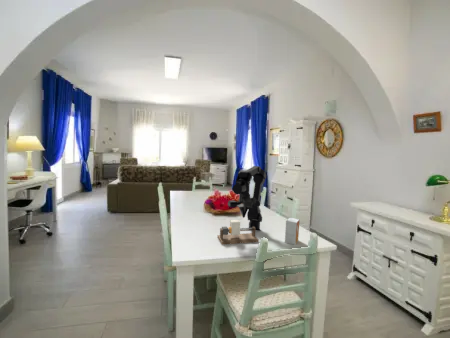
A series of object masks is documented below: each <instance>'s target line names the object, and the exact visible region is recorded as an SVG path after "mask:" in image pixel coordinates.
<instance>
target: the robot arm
mask: <svg viewBox="0 0 450 338" xmlns="http://www.w3.org/2000/svg"><path fill="white" fill-rule="evenodd" d="M235 179H236V180H235V184H234V185H233V187H232V191H233V193H234V194H236V195H239V198H238V201H236V200H232V199H231V200H228V202H227V206H228V207H230V208H238V209H239V210H240V213H241V217H242V218H245V217H247V221H249V222H248V228H252V227H255V228H256V232H259V231H262V229H261V223H262V221H263V216H262V211H261V208H260V207H261V201H260V200H261V195H262V194H261V193H262V186H263V185H264V184H265V182H266V179H267V173H266V171H265V170H264V169H263V168H262V167H261V166H260V165H259V166H258V165H254V166H251V167H249V168H248V169H245V170H244V169H243V170H239V172H238V174H237V176H236V178H235ZM252 179H253V183H254V188H253V194H252V195H253V196H252V197H251V194H250V184H251V180H252Z"/></svg>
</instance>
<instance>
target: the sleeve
mask: <svg viewBox="0 0 450 338" xmlns="http://www.w3.org/2000/svg"><path fill="white" fill-rule="evenodd" d="M229 227H231V230H232V232H231V235H240V234H241V231H240V228H241V221H240V220H239V219H231V220H230V221H229Z"/></svg>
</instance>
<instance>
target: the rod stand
mask: <svg viewBox="0 0 450 338" xmlns="http://www.w3.org/2000/svg"><path fill="white" fill-rule="evenodd" d="M248 231H251V232H248ZM231 232H232V230H231V227H230V226H221V228H219V234H217V237H216V238H217V240H218V241H219V242H220V244H221V245H222V246H223V245H224V246H225V245H235V244H239V245H240V244H250V243H251V244H253V243H259V241H260V240H259V239H260V238H257V236H256V233H257V231H256V228H255V227H252V228H249V227H245V228H244V227H242V228H241V227H240V232H248V233H240V235H231Z"/></svg>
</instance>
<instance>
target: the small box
mask: <svg viewBox="0 0 450 338" xmlns="http://www.w3.org/2000/svg"><path fill="white" fill-rule="evenodd" d="M299 231H300V219H299V218H293V217H288V218H287V220H285V232H284V233H285V235H284V237H285V238H284V243H285V244H290V245H295V246H296V245H297V243H298V241H299V235H300V233H299Z"/></svg>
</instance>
